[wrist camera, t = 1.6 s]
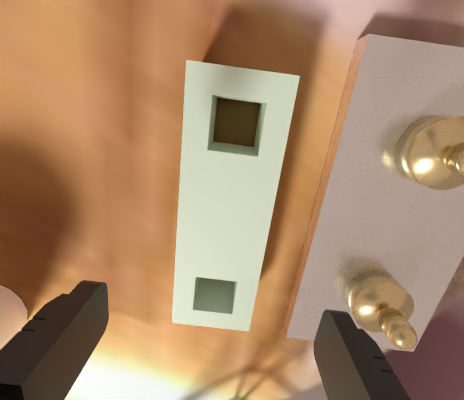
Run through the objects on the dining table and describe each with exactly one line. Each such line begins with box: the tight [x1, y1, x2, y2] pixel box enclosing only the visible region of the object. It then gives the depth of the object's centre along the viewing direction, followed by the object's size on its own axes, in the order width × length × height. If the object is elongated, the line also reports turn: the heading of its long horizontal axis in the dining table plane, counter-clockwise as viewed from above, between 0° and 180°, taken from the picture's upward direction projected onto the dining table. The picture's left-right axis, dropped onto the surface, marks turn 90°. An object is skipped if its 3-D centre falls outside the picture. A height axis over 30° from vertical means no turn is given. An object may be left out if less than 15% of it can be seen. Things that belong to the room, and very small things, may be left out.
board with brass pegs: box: [283, 34, 464, 352], centre depth 17 cm, size 24×12×6 cm, turn 173°
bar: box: [172, 60, 300, 331], centre depth 18 cm, size 18×6×4 cm, turn 173°
